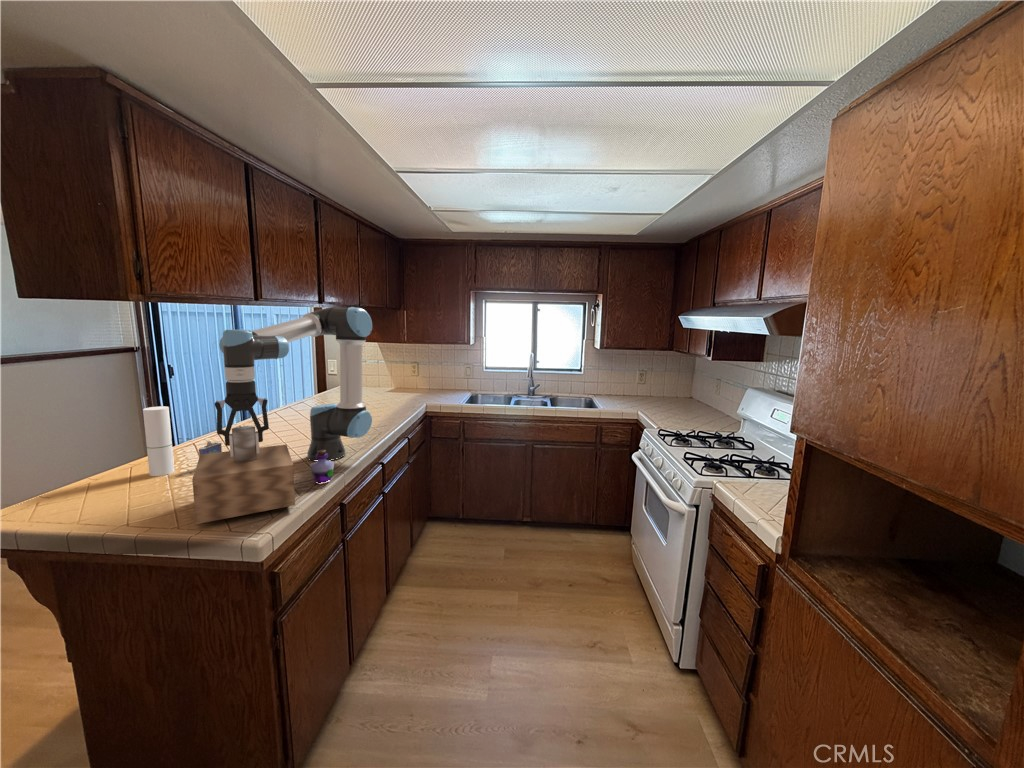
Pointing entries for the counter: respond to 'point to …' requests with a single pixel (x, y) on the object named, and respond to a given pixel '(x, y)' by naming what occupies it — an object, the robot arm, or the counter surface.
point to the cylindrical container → (158, 440)
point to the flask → (210, 448)
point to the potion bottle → (322, 467)
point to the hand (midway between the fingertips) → (245, 453)
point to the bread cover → (242, 479)
